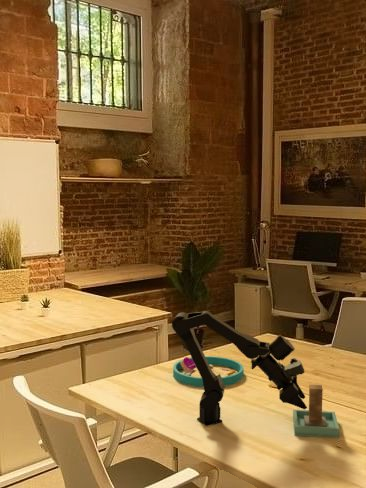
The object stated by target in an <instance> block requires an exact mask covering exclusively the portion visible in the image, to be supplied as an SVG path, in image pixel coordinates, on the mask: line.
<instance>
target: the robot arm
mask: <svg viewBox="0 0 366 488" xmlns="http://www.w3.org/2000/svg"><path fill="white" fill-rule="evenodd" d="M201 326H206V327H207V328H210V330H212V331H213V332H215V333H217V334H218V335H219V336H220V337H223V338H225V339H226V340H227V341H229V342H230V343H232V344H233V345H234V346H235V347H236V348H237V349H238V351H239V352H240V353H242V354H243V355H244V357H246V358H247V359H249V360H250V363H251V370H254V369H255V368H256V367H258V368H259V369H260V370H261V372H263V373H264V374H265V376H266V377H267V378H268V381H270V382H272V383H273V384H274V385H275V386H276V389H277V390H278V391H279V394H278V395H279V400H280V401H281V402H282V403H286V404H289V405H292V406H295V407H297V408H299V409H301V410H307V408H308V406H307V405H306V403H305V402H304V401H303V400H304V399H305V398H306V395H305V393H304V392H303V390H302V389H301V387H300V385H299V384H298V377H297V376H300V375H303V374H305V373H306V372H305V368H304V366H303V364H302V361H301V360H300V359H297V358H295V357H293V358H290V361H289V362H290V363H288V364H287V365H284V364H283V363H279V362H278V361H284V360H285V359H286V358H287V357H288V356H289V355H290V354H292V353H293V352H294V351H295V350H296V349H295V347H294V345H293V344H292V343H291V342H290V340H288V339H287V338H286V337H284V336H283V335H281V334H279V335H277V336H276V338H275V339H274V340H273V341H272V342H265V341H260V340H259V339H258V338H256V337H254V336H251V335H249V334H246V333H242V332H240V331H238V330H236V329H235V328H234V327H232V326H230V325H229V324H228V323H227V322H224V320H221V319H220V318H218V317H217V316H216V315H214V314H212V312H210V311H208V310H203V311H200V312H199V311H198V312H196V311H195V312H190V313H187V312H184V311H182V312H179V313H177V314H176V315H175V317H174V318H173V319H172V322H171V328H172V329H173V332H174V333H176V335H177V336H178V337H179V339H180V340H181V341H183V343H184V345H185V346H186V349H187V351H188V353H189V355H190V356H191V357H192V359H193V361H194V363H195V368H196V369H197V371H198V373H199V376H200V377H201V378H202V381H203V386H204V387H203V390H204V392H202V394H201V397H200V400H199V405H198V406H199V417H197V418H196V420H197V421H199V422H200V423H201V424H203V425H205V426H207V427H208V426H212V425H216V424H220V423H223V420H222V419H221V406H220V402H221V401H222V400H223V397H224V393H225V387H226V386H225V383H224V382H223V381H222V379H221V377H222V376H221V374H220V373H219V374H215V373H214V372H213V370H212V367H211V368H210V364H209V363H208V361H207V359H206V357H205V356H206V355H205V353H204V352H203V349H202V348H201V345H200V343H199V341H198V339H197V337H196V334H195V328H198V327H201ZM191 357H190V358H191Z"/></svg>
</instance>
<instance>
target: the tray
mask: <svg viewBox="0 0 366 488" xmlns="http://www.w3.org/2000/svg"><path fill="white" fill-rule="evenodd" d="M292 411H293V412H292V421H293V422H292V423H293V430H294V431H293V432H294V433H293V434H294V436H299V437H300V436H301V437H314V438H315V437H318V438H329V439H330V438H331V439H332V438H333V439H340V427H339V422H338V419H337V415H336V411H328V410H327V411H326V410H322V417H325V419H326V424H327V427H317V426H305V425H304V416H309V409H305V410H304V409H293V410H292Z"/></svg>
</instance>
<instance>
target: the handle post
mask: <svg viewBox="0 0 366 488" xmlns="http://www.w3.org/2000/svg"><path fill="white" fill-rule="evenodd" d="M308 387H309V388H308V410H309V416H304V425H305V426H317V427H327V424H326V419H325V417H322V411H323V391H324V390H323V385H322V384H309V385H308Z"/></svg>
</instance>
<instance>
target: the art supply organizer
mask: <svg viewBox="0 0 366 488" xmlns="http://www.w3.org/2000/svg"><path fill="white" fill-rule="evenodd" d="M205 357H206V359H207V361H208V363H209V365H210V368H211V369H212V368H213V367H214V365H215V366H221V365H223V366H222V367H221V369H222V371H224V372H226V371H227V370H230V369H233V368H234V369H233V370H231V371H230V372H229V373H226V375H225V376H221V379H222V381H223V382H224V383H225V386H224V387H226V386H230V385H234V384H237V383H238V382H240V381H241V380H243V379H244V375H245V374H244V370H245V369H244V366H243V364H242V363H240V362H239V361H236V360H234V359H232V358H228V357H222V356H211V355H210V356H209V355H208V356H207V355H205ZM212 364H214V365H212ZM226 367H227V368H226ZM230 367H231V368H230ZM172 368H173V369H172V372H173V373H172V374H173V375H172V376H173V377H172V378H174V380H176V381H177V382H179V383H182V384H183V385H188V386H193V387H202V388H204V386H203V381H202V378H201V376H200V377H199V376H192V372H193V371H194V369H195V368H196V365H195V363H194V361H193V359H192V357H184V358H183V359H181V360H178V361H177V362H175V363H174V364H173V367H172ZM182 369H183V370H184V373H182V372H181V371H180V370H182ZM235 369H236V370H235ZM238 371H239V372H238ZM236 382H237V383H236Z"/></svg>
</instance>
